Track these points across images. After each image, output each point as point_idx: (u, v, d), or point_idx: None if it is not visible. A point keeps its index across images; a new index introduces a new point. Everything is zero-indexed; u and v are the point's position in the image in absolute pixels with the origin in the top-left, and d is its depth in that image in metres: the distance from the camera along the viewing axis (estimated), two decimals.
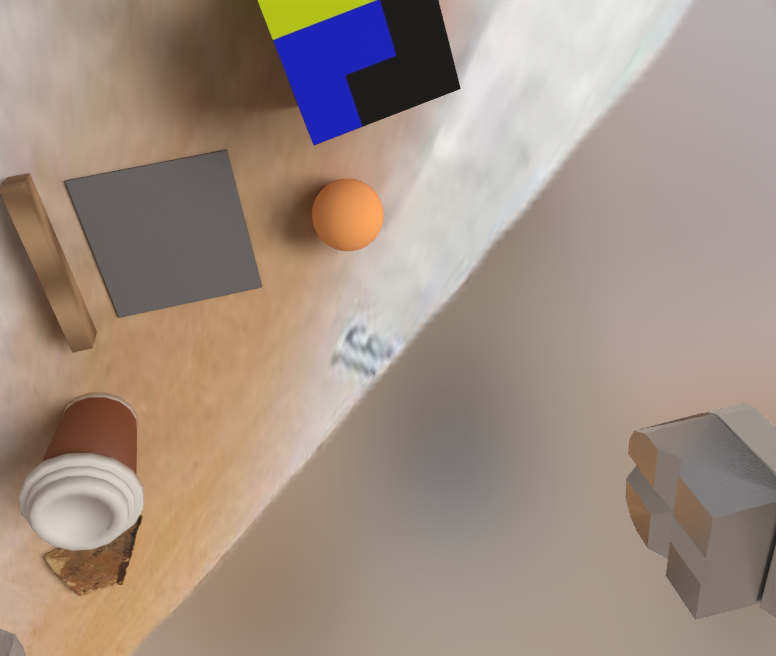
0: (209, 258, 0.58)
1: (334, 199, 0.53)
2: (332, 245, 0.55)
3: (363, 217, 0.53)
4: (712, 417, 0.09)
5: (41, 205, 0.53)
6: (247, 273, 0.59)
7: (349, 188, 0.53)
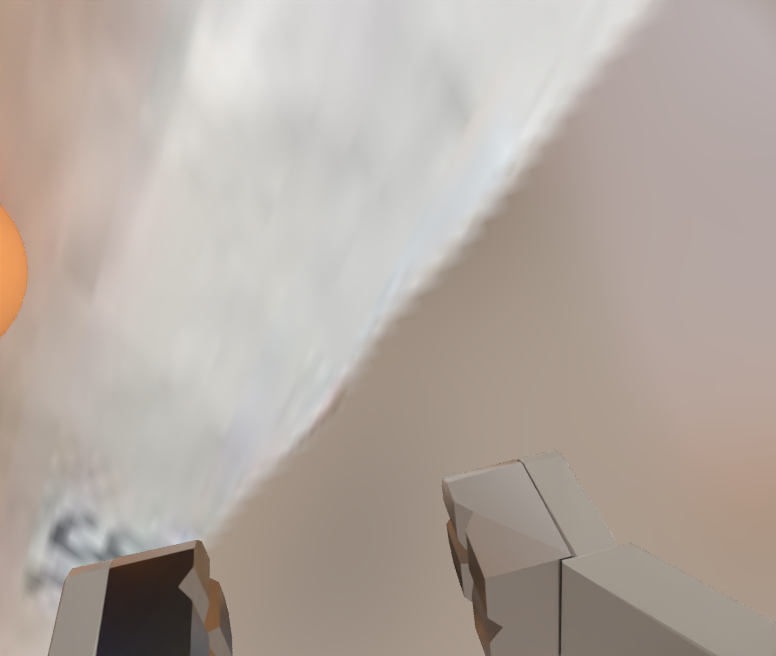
0: None
1: None
2: None
3: None
4: (517, 466, 0.08)
5: None
6: None
7: None
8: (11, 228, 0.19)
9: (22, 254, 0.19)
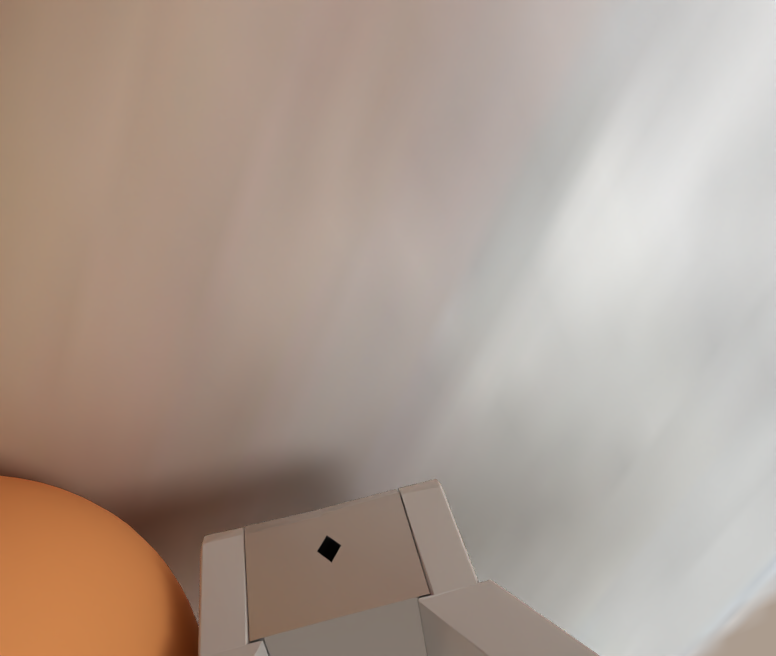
0: None
1: None
2: None
3: None
4: (394, 496, 0.08)
5: None
6: None
7: None
8: (190, 635, 0.08)
9: None
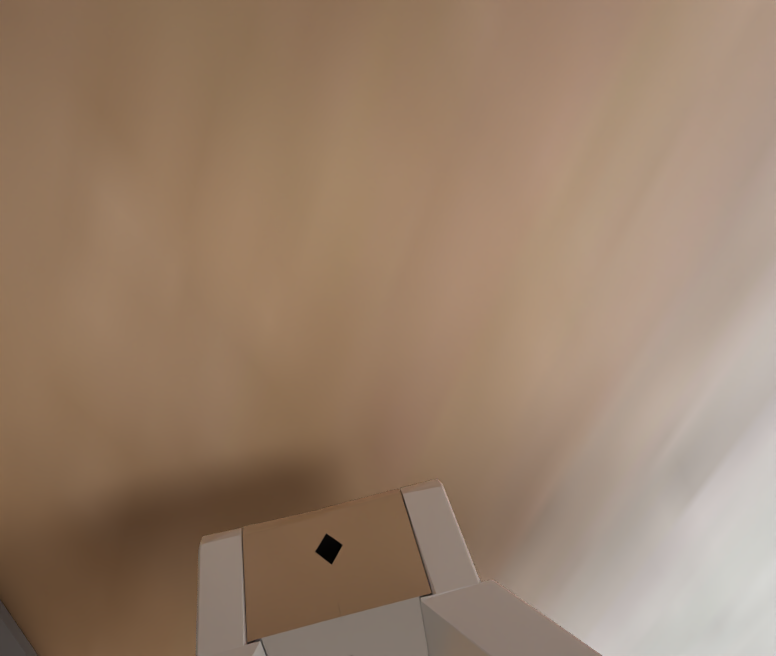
0: None
1: None
2: None
3: None
4: (396, 496, 0.08)
5: None
6: None
7: None
8: None
9: None
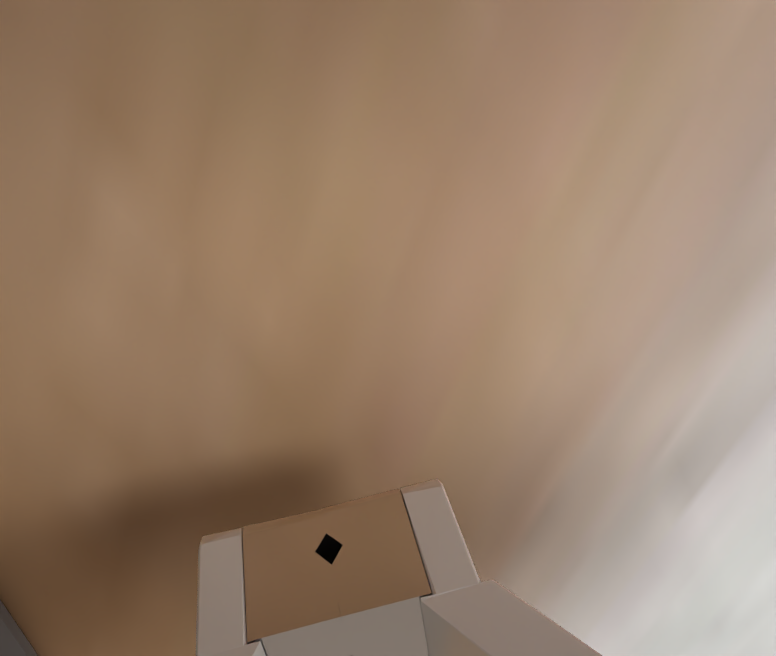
0: None
1: None
2: None
3: None
4: (396, 496, 0.08)
5: None
6: None
7: None
8: None
9: None
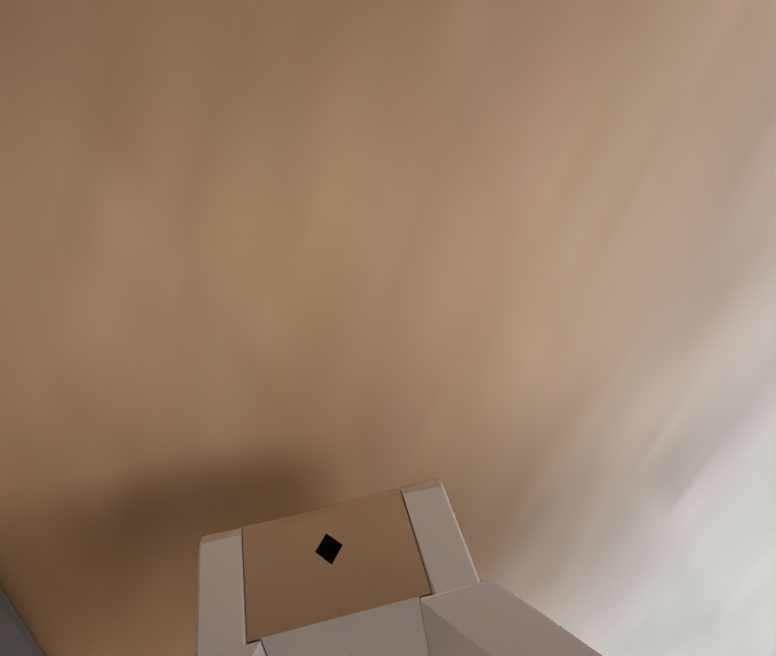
0: None
1: None
2: None
3: None
4: (396, 496, 0.08)
5: None
6: None
7: None
8: None
9: None
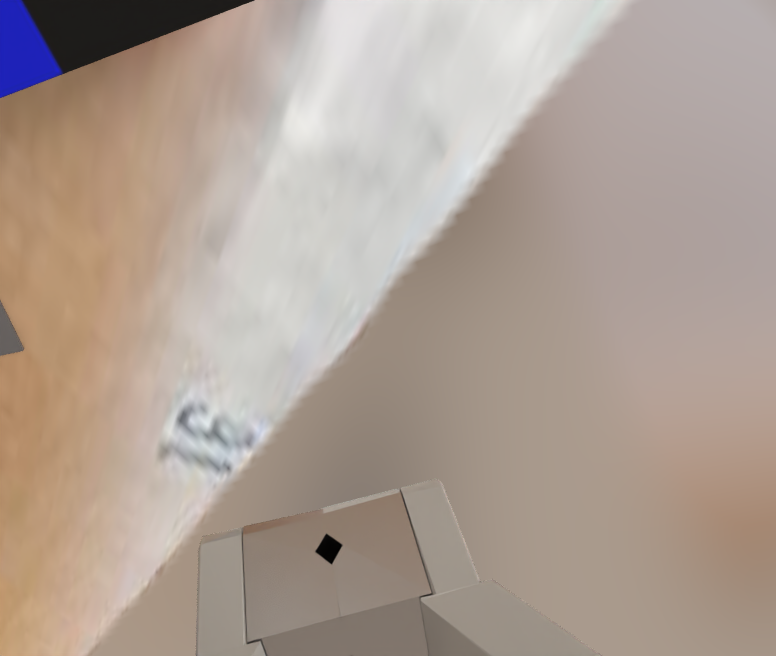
0: None
1: None
2: None
3: None
4: (396, 496, 0.08)
5: None
6: None
7: None
8: None
9: None
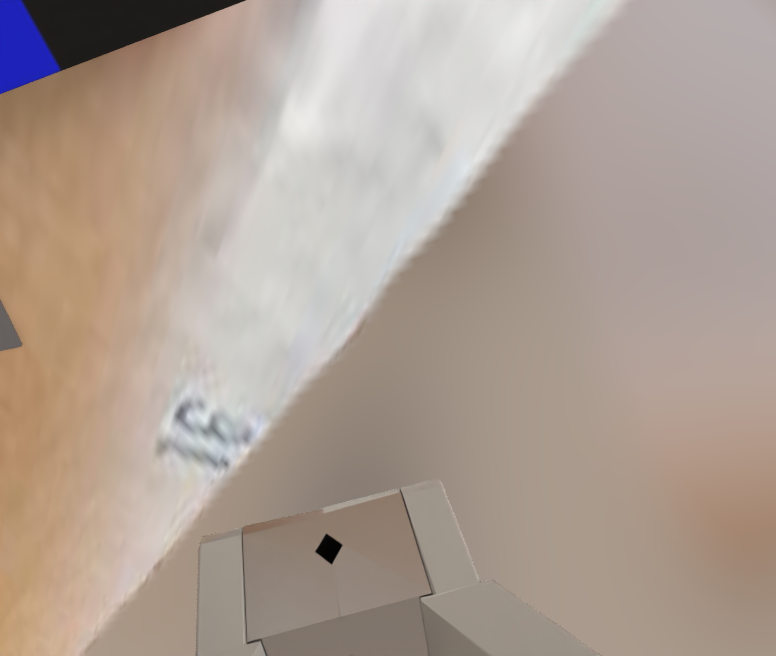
0: None
1: None
2: None
3: None
4: (396, 496, 0.08)
5: None
6: None
7: None
8: None
9: None
